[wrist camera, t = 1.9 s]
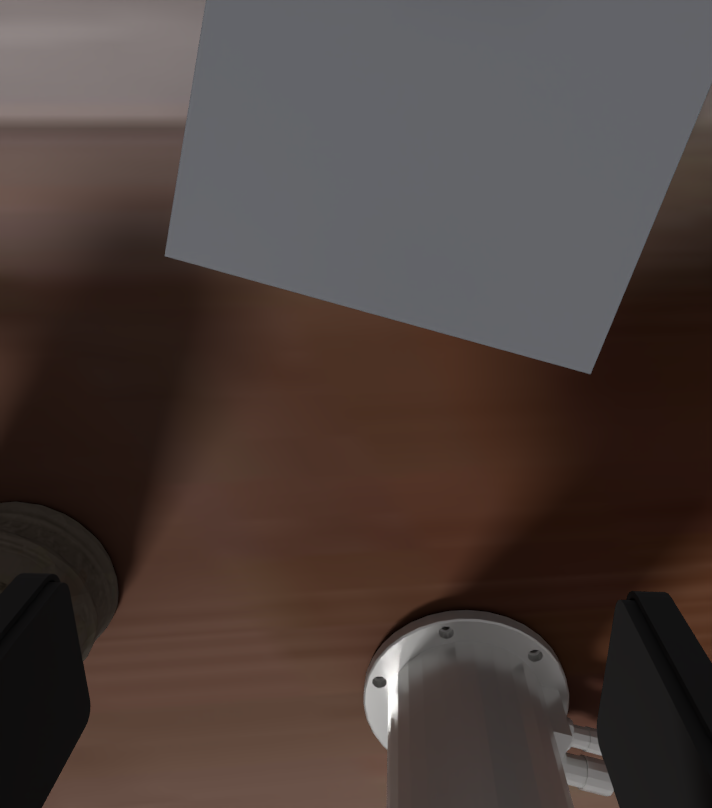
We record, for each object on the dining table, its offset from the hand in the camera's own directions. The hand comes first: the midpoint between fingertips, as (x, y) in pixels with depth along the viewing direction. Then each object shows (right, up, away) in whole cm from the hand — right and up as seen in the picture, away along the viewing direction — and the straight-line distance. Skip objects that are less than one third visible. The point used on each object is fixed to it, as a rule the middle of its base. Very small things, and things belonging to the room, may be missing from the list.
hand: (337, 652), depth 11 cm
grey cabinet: (+4, +20, +19) cm, 28 cm away
